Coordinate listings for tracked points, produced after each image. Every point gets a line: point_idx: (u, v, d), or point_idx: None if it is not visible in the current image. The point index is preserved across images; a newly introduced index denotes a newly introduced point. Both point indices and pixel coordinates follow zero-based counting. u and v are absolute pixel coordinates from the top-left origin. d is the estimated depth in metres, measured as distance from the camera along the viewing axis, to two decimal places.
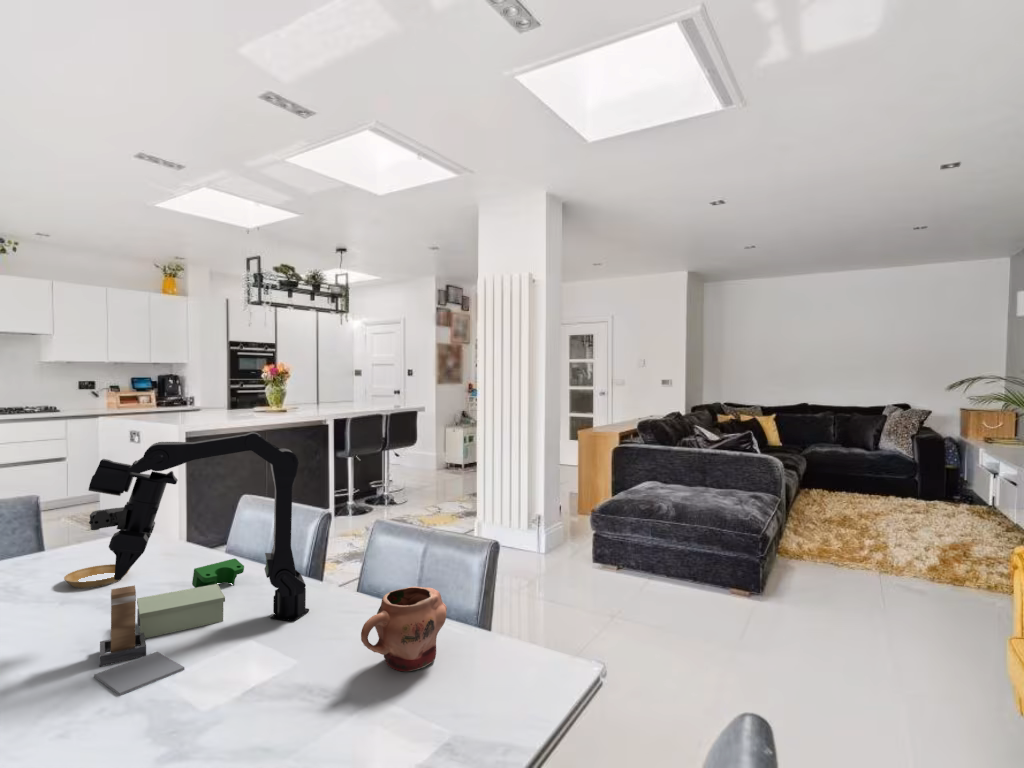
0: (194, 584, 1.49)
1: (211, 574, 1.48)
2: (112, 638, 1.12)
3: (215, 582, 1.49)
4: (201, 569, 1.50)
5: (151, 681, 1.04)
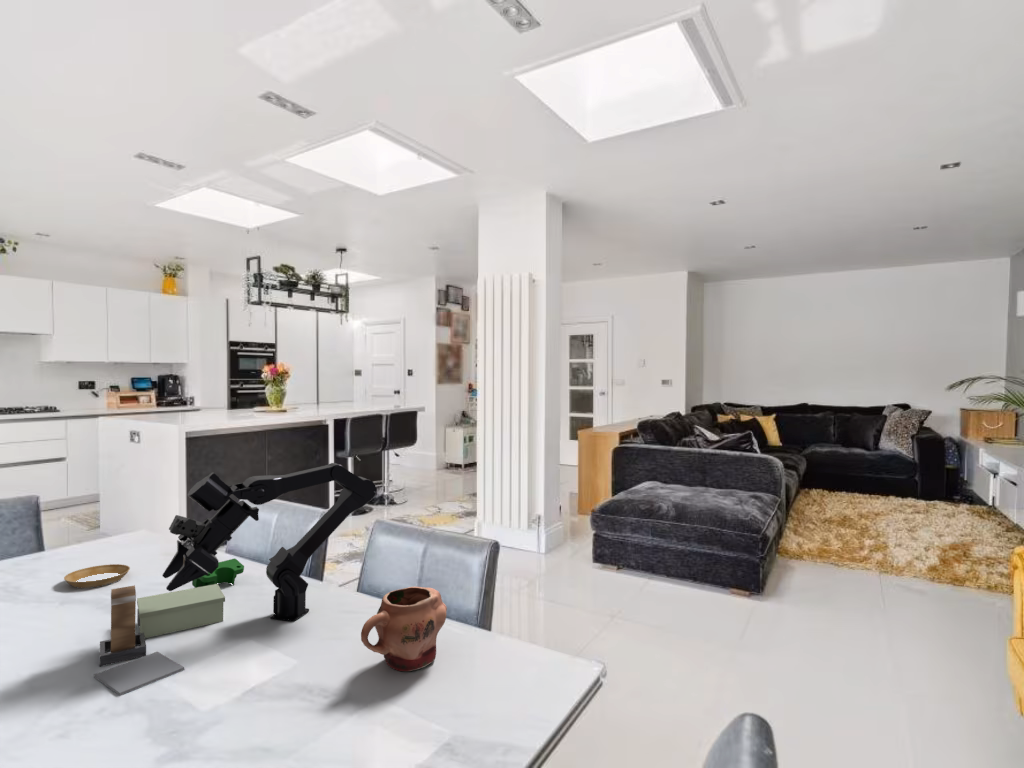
0: (194, 583, 1.49)
1: (211, 574, 1.49)
2: (112, 638, 1.12)
3: (215, 582, 1.49)
4: None
5: (151, 681, 1.04)
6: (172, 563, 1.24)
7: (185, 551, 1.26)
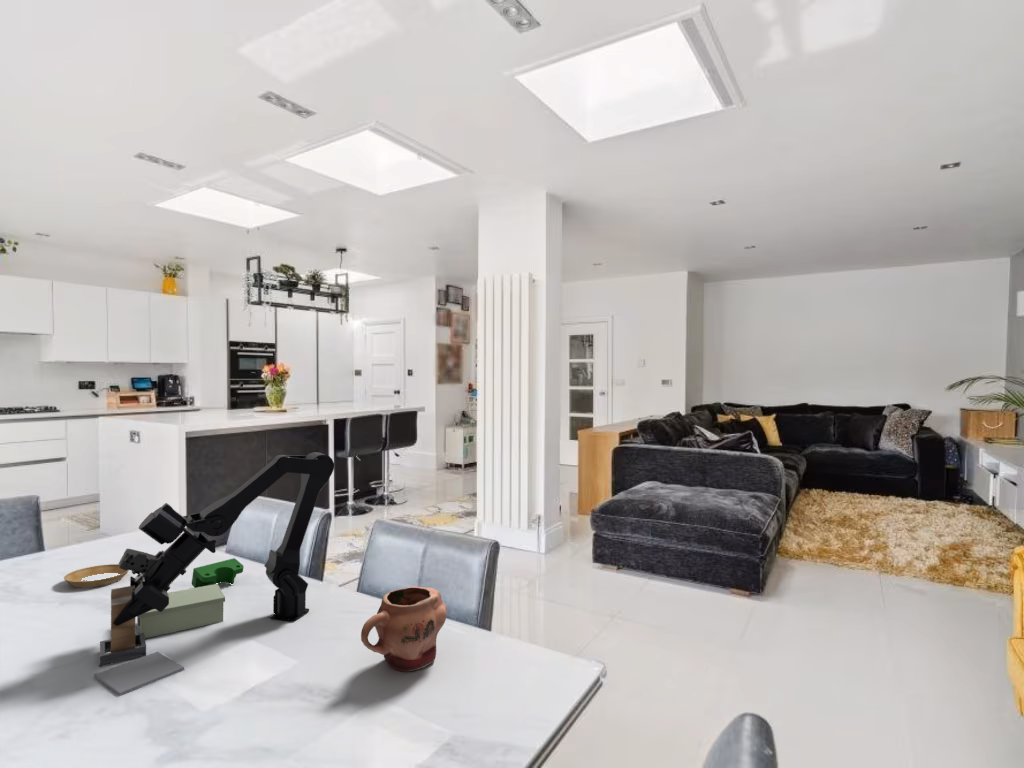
0: (194, 583, 1.49)
1: (210, 574, 1.49)
2: (112, 638, 1.12)
3: (215, 582, 1.49)
4: (200, 569, 1.50)
5: (151, 681, 1.04)
6: None
7: None
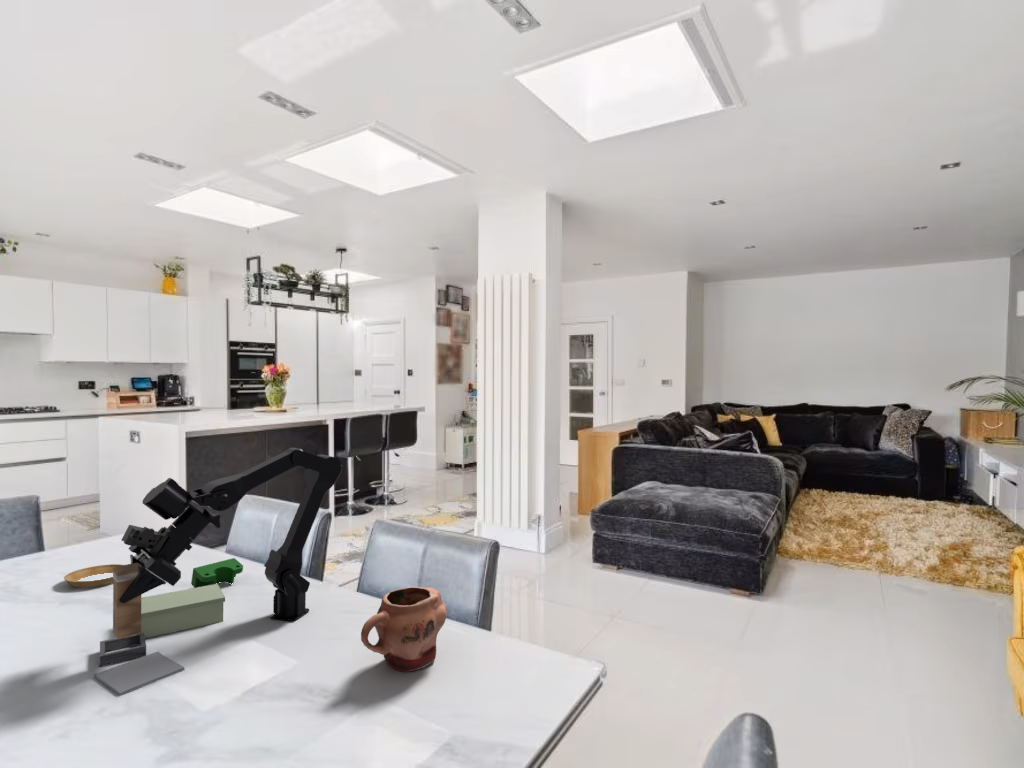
0: (193, 583, 1.50)
1: (210, 574, 1.49)
2: (118, 616, 1.09)
3: (214, 582, 1.49)
4: (200, 569, 1.50)
5: (151, 681, 1.04)
6: None
7: None
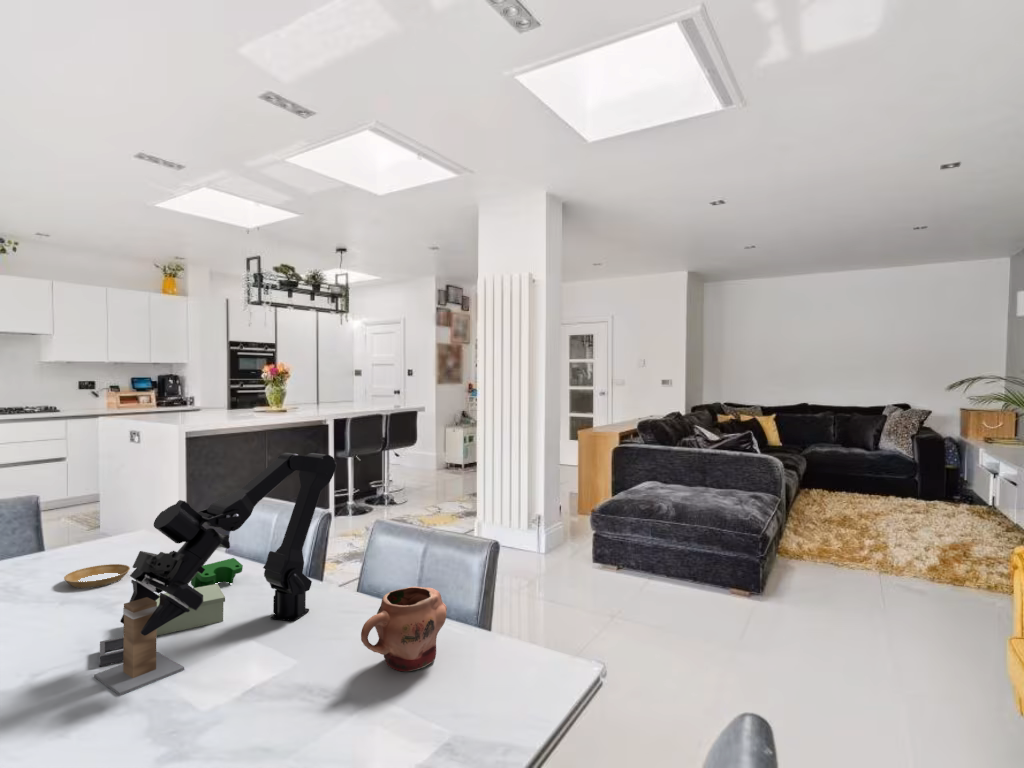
0: (193, 583, 1.50)
1: (210, 573, 1.49)
2: (134, 654, 1.05)
3: (214, 582, 1.49)
4: None
5: (151, 681, 1.04)
6: None
7: (144, 591, 1.12)
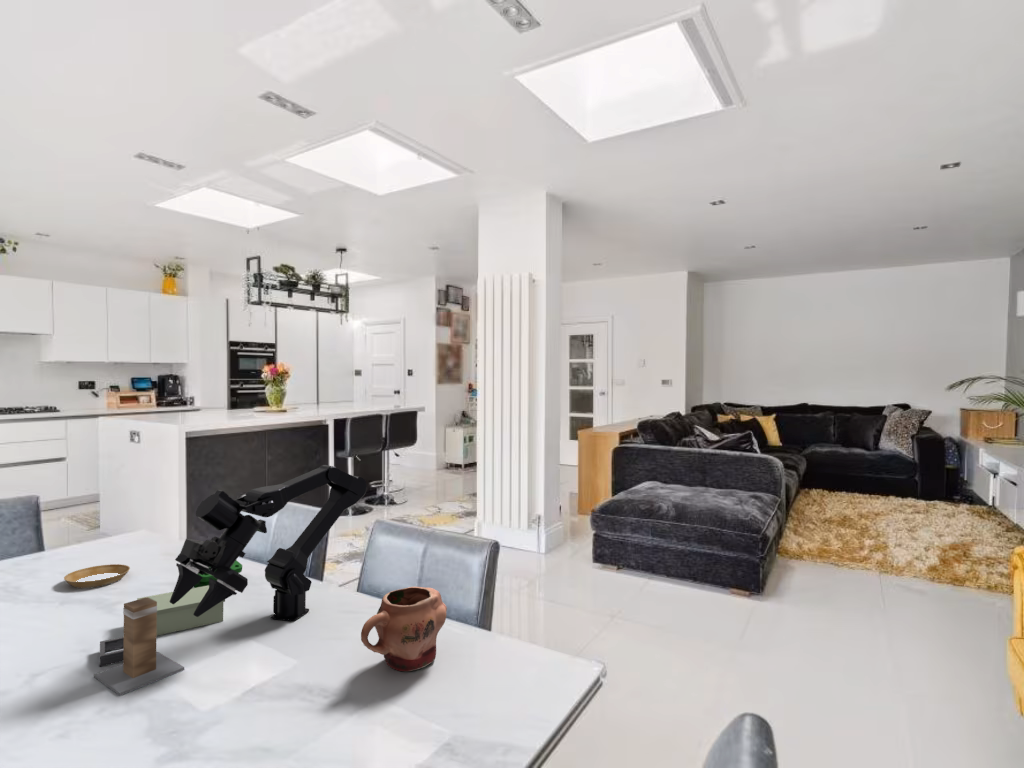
0: None
1: None
2: (134, 654, 1.05)
3: None
4: None
5: (151, 681, 1.04)
6: (178, 588, 1.18)
7: (189, 573, 1.20)
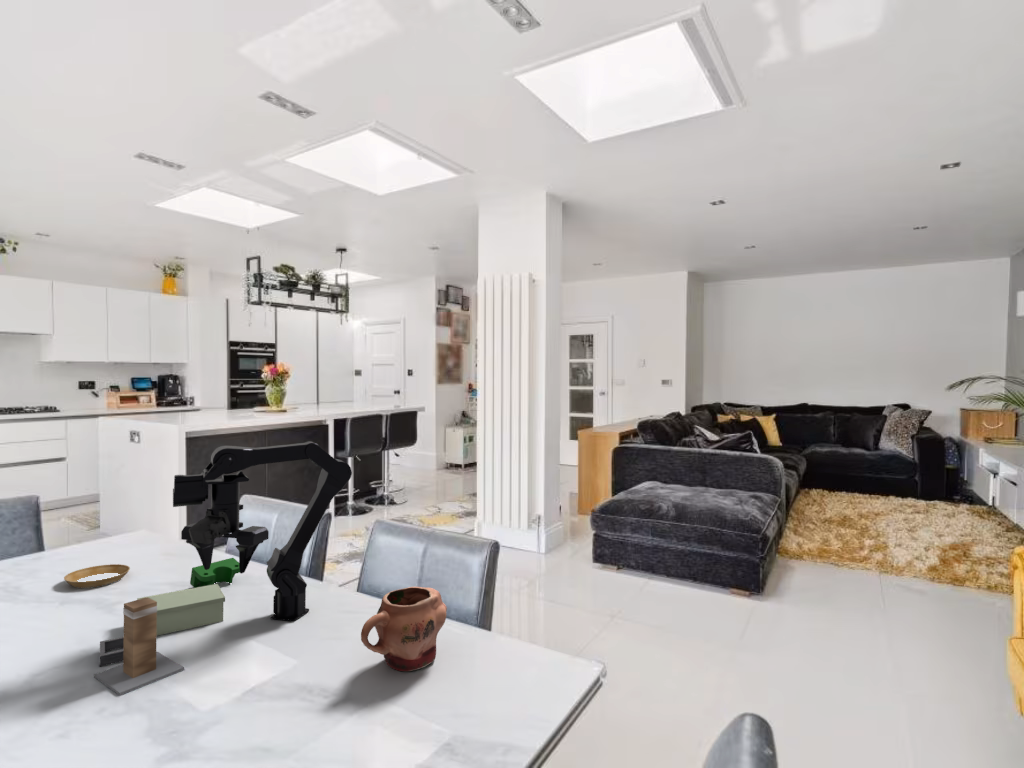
0: (192, 583, 1.50)
1: (209, 573, 1.49)
2: (134, 654, 1.05)
3: (213, 582, 1.49)
4: (199, 568, 1.50)
5: (151, 681, 1.04)
6: (204, 557, 1.27)
7: None
